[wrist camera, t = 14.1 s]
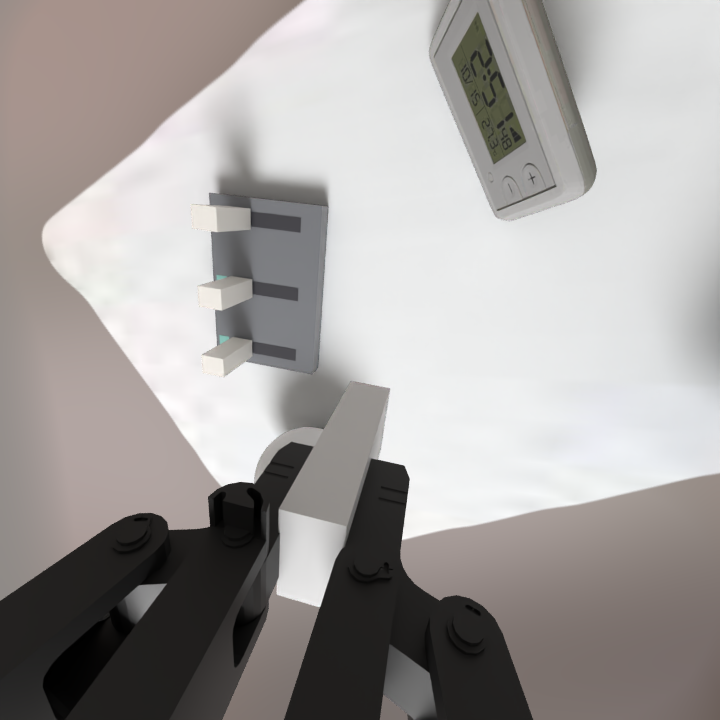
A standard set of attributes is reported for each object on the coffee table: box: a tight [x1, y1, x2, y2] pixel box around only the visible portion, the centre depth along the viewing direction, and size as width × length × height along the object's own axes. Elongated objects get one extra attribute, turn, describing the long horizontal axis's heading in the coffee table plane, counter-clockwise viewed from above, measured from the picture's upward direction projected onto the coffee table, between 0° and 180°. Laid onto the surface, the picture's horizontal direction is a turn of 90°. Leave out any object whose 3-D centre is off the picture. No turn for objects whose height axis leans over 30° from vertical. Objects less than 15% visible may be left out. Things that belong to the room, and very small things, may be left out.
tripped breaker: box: [197, 276, 252, 311], centre depth 37 cm, size 2×2×6 cm
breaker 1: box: [191, 204, 251, 232], centre depth 34 cm, size 2×2×6 cm
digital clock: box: [429, 0, 597, 221], centre depth 27 cm, size 16×9×11 cm, turn 18°
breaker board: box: [209, 193, 328, 374], centre depth 40 cm, size 12×18×2 cm, turn 174°
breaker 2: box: [201, 337, 252, 377], centre depth 39 cm, size 2×2×6 cm
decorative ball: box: [254, 427, 324, 484], centre depth 43 cm, size 12×12×12 cm
